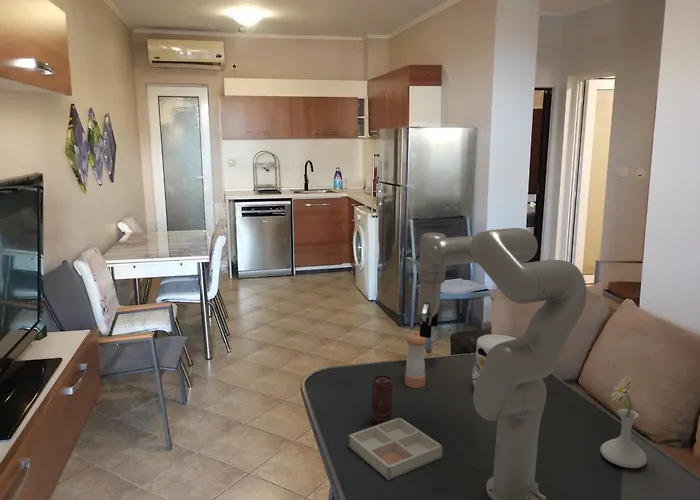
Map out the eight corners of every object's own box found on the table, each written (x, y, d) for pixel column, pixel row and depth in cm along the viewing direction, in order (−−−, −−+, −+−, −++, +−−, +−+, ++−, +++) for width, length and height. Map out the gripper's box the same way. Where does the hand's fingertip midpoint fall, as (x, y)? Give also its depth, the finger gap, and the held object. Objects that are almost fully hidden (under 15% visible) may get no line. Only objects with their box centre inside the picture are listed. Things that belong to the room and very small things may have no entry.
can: (391, 427, 161) (392, 384, 158) (370, 425, 162) (370, 382, 160) (393, 417, 167) (394, 375, 164) (373, 415, 168) (374, 374, 166)
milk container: (461, 384, 191) (464, 336, 187) (502, 377, 197) (505, 330, 193) (490, 406, 175) (493, 354, 171) (533, 398, 181) (538, 347, 177)
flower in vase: (605, 443, 154) (615, 361, 149) (650, 458, 147) (661, 373, 142) (592, 464, 144) (602, 377, 139) (639, 481, 137) (651, 390, 132)
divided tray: (442, 457, 146) (442, 445, 146) (388, 480, 136) (388, 467, 136) (399, 427, 161) (399, 417, 161) (348, 446, 151) (348, 435, 150)
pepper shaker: (428, 386, 189) (431, 334, 185) (410, 389, 187) (412, 337, 183) (418, 377, 196) (420, 327, 192) (401, 380, 193) (402, 330, 189)
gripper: (425, 267, 164) (422, 320, 168) (412, 281, 148) (409, 339, 152) (449, 269, 162) (446, 323, 166) (439, 284, 146) (435, 343, 150)
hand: (428, 331), depth 159 cm, fingers open, 9 cm apart
